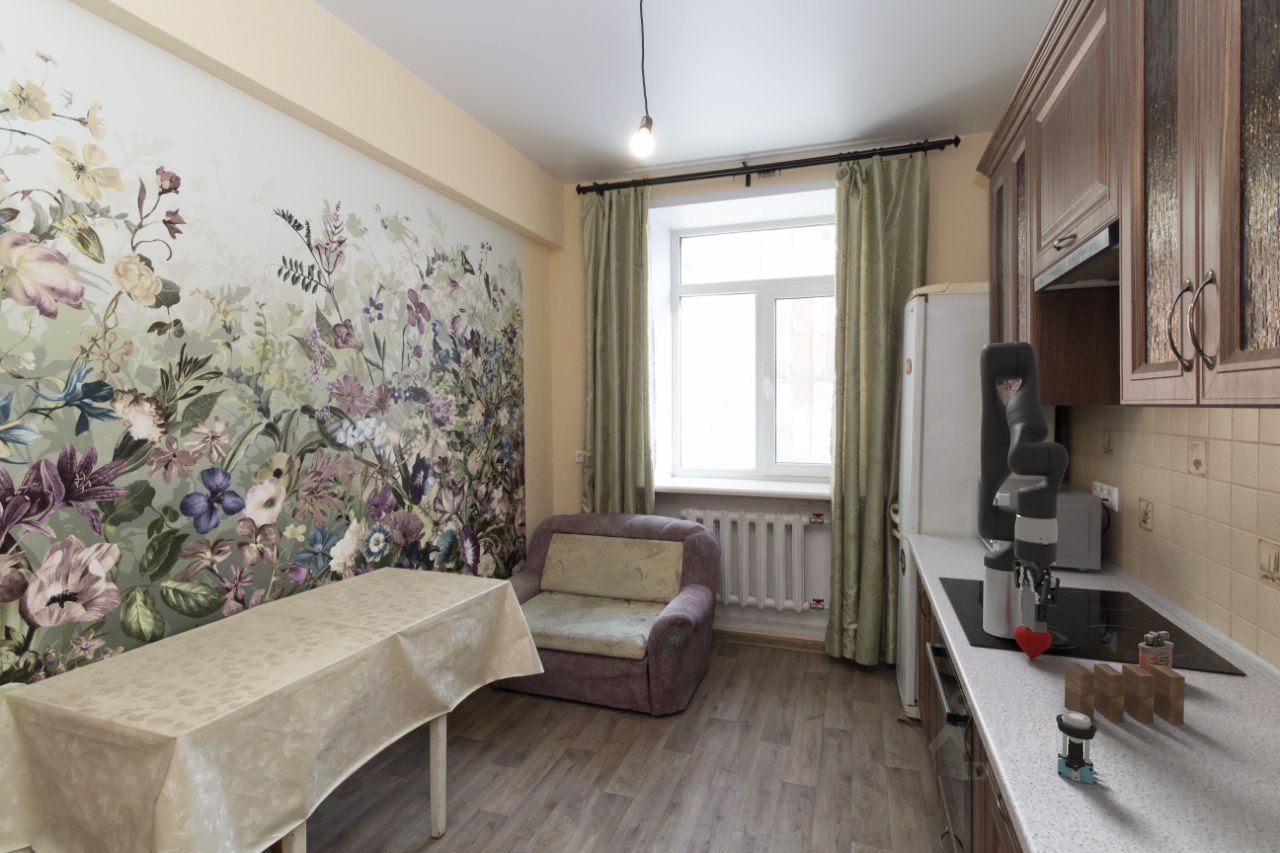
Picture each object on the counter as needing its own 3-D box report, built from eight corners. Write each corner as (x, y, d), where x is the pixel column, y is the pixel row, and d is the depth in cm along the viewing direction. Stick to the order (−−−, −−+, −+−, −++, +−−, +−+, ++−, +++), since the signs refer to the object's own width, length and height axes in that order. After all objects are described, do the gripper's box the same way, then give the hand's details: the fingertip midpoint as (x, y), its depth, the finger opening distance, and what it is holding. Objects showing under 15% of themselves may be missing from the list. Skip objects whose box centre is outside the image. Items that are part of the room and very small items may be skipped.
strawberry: (1052, 667, 137) (1053, 623, 136) (1013, 660, 141) (1014, 618, 140) (1050, 657, 142) (1051, 615, 141) (1013, 650, 146) (1013, 610, 145)
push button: (1105, 776, 98) (1106, 716, 97) (1107, 794, 93) (1108, 731, 93) (1055, 763, 101) (1056, 704, 101) (1055, 779, 97) (1056, 718, 97)
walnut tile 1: (1169, 723, 113) (1170, 676, 112) (1149, 710, 118) (1151, 664, 117) (1183, 724, 113) (1184, 677, 112) (1163, 710, 118) (1164, 665, 117)
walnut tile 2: (1139, 722, 113) (1140, 675, 113) (1121, 709, 118) (1122, 664, 118) (1153, 723, 113) (1154, 676, 113) (1134, 709, 118) (1135, 664, 118)
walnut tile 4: (1080, 720, 115) (1080, 673, 114) (1064, 706, 120) (1065, 662, 119) (1093, 720, 114) (1094, 674, 114) (1077, 707, 119) (1078, 662, 119)
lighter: (1149, 684, 128) (1151, 637, 128) (1133, 676, 132) (1134, 631, 131) (1177, 678, 130) (1178, 633, 130) (1160, 672, 134) (1161, 627, 133)
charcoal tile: (1034, 632, 125) (1035, 589, 125) (1021, 622, 130) (1022, 581, 130) (1046, 632, 125) (1047, 589, 125) (1033, 623, 130) (1034, 582, 130)
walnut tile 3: (1109, 721, 114) (1110, 674, 114) (1092, 707, 119) (1093, 663, 119) (1123, 722, 114) (1124, 675, 113) (1105, 708, 119) (1106, 663, 118)
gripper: (1000, 529, 134) (999, 604, 135) (1035, 545, 120) (1033, 629, 121) (1036, 529, 133) (1034, 604, 134) (1075, 546, 119) (1074, 630, 120)
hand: (1034, 616), depth 128 cm, fingers closed on charcoal tile, 5 cm apart
